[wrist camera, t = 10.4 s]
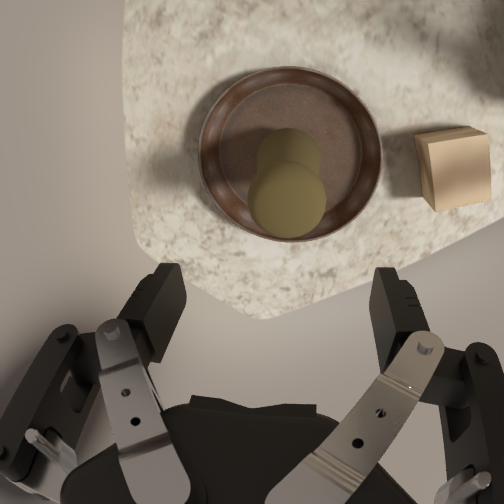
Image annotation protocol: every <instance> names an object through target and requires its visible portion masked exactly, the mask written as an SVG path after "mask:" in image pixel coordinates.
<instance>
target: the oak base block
mask: <svg viewBox="0 0 504 504" xmlns="http://www.w3.org/2000/svg"><path fill="white" fill-rule="evenodd" d="M414 139H415V144H416V150H417V156H418V163H419V170H420V177H421V185H422V194H423V198H424V199H425V200H426V201H427V203H428V204H429V205H430V206H431V207H432V209H433V210H434V211H435V212H440V211H445V210H449V209H454V208H458V207H463V206H467V205H471V204H476V203H480V202H485V201H489V200H491V168H490V152H489V141H488V134H486V133H484V132H482V131H479V130H477V129H475V128H472V127H470V126H468V127H461V128H454V129H448V130H441V131H435V132H429V133H424V134H418V135H414Z"/></svg>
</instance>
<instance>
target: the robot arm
mask: <svg viewBox="0 0 504 504" xmlns="http://www.w3.org/2000/svg"><path fill="white" fill-rule="evenodd" d="M186 297H187V296H186V290H185V285H184V282H183V277H182V273H181V268H180V265H179V264H178V263H160V264H159V266H158V267H157V269H156V270H155V272H154V274H149V275H147V276H146V277H145V278H144V279H142V280H141V281H140V283H139V284H138V286H137V287H136V289H135V291H134V292H133V294H132V295H131V297H130V298H129V299H128V301H127V302H126V304H125V306H124V307H123V309H122V310H121V312H120V314H119V315H118V317H117V318H116V319H110V320H107V321H105V322H104V323H102V324H101V325H100V326H99V327H98V328H97V330H96V332H92V333H84V334H80V333H79V332H78V330H77V328H76V327H75V326H74V325H71V324H65V325H62V326H59V327H57V328H56V329H55V330H54V331H53V332H52V333H51V334H50V335H49V337H48V339H47V340H46V342H45V343H44V345H43V346H42V348H41V350H40V351H39V353H38V354H37V356H36V358H35V359H34V361H33V363H32V364H31V366H30V367H29V369H28V371H27V373H26V374H25V376H24V378H23V379H22V381H21V383H20V385H19V386H18V388H17V390H16V392H15V393H14V395H13V397H12V399H11V401H10V403H9V405H8V406H7V408H6V410H5V412H4V414H3V416H2V418H1V420H0V474H2V475H3V476H5V477H6V478H7V479H8V480H9V481H11V482H12V483H14V484H15V485H17V486H18V487H20V488H22V489H23V490H25V491H27V492H29V493H32V494H33V495H35V496H37V497H38V498H40V499H42V500H53V501H55V502H57V503H59V504H417V503H416V502H415V501H414V500H413V499H412V498H411V497H410V495H409V494H408V493H407V492H406V491H405V490H404V489H403V488H402V487H401V486H400V485H399V484H398V483H397V482H396V481H395V480H394V479H393V478H392V477H391V476H390V475H389V474H388V472H386V470H385V469H383V467H382V466H381V465H380V464H379V463H378V461H379V460H380V458H381V457H382V456H383V454H384V453H385V452H386V450H387V449H388V447H389V446H390V444H391V443H392V441H393V440H394V439H395V437H396V436H397V434H398V432H399V431H400V430H401V428H402V427H403V425H404V423H405V422H406V420H407V419H408V417H409V415H410V414H411V412H412V410H413V409H414V407H415V406H416V404H417V402H418V401H420V402H424V403H429V404H435V405H438V406H439V412H440V418H441V425H442V433H443V441H444V450H445V460H446V471H447V482H446V483H445V484H444V485H442V486H441V487H440V488H439V490H438V491H437V493H436V496H435V500H434V504H504V373H503V370H502V367H501V364H500V361H499V359H498V356H497V354H496V352H495V351H494V349H493V348H491V347H490V346H489V345H487V344H485V343H480V342H476V343H472V344H470V345H469V346H468V347H467V349H466V350H465V351H460V350H455V349H451V348H447V347H445V346H444V344H443V342H442V340H441V339H440V338H439V337H438V336H437V335H435V334H434V333H431V332H430V329H429V326H428V323H427V321H426V318H425V315H424V312H423V310H422V307H421V306H420V305H421V304H420V302H419V300H418V298H417V294H416V292H415V289H414V287H412V285H411V284H410V283H409V282H408V281H407V280H399V278H398V275H397V272H396V270H395V268H392V267H377V268H376V269H375V273H374V278H373V284H372V290H371V295H370V301H369V310H370V316H371V321H372V326H373V331H374V337H375V343H376V348H377V354H378V360H379V366H380V374H379V375H378V376H377V378H376V379H375V380H374V382H373V383H372V384H371V386H370V387H369V388H368V390H367V391H366V392H365V393H364V395H363V396H362V397H361V399H360V400H359V401H358V402H357V403H356V405H355V406H354V407H353V409H351V411H350V412H349V413H348V414H347V415H346V417H345V418H344V419H343V420H342V421H341V423H339V422H338V421H336V420H334V419H332V418H330V417H328V416H325V415H321V414H318V413H316V404H280V405H274V406H267V407H260V408H247V407H244V406H241V405H238V404H235V403H232V402H229V401H226V400H223V399H220V398H211V397H202V396H195V395H192V396H191V399H190V402H189V403H188V404H181V405H177V406H174V407H171V408H168V409H166V410H165V408H164V406H163V403H162V401H161V399H160V396H159V394H158V392H157V389H156V387H155V384H154V382H153V379H152V377H151V374H150V372H149V370H148V366H149V363H150V362H155V363H161V360H162V358H163V356H164V353H165V351H166V349H167V346H168V344H169V342H170V340H171V337H172V335H173V333H174V330H175V328H176V326H177V323H178V321H179V319H180V317H181V314H182V312H183V310H184V308H185V305H186ZM67 372H68V373H69V375H70V377H69V379H68V381H67V383H66V385H65V387H64V389H63V391H62V393H61V392H60V387H61V384H62V382H63V380H64V378H65V376H66V374H67ZM100 387H101V389H102V393H103V397H104V401H105V405H106V408H107V412H108V416H109V420H110V423H111V427H112V430H113V434H114V437H115V440H116V443H114V444H113V445H111V446H110V447H108V448H107V449H105V450H103V451H102V452H100V453H99V454H97V455H96V456H94V457H92V458H91V459H89V460H87V461H86V462H84V463H83V464H81V465H79V466H77V465H76V462H77V459H76V454H75V452H74V450H75V447H76V444H77V442H78V439H79V437H80V434H81V432H82V429H83V427H84V424H85V422H86V420H87V417H88V415H89V412H90V410H91V408H92V405H93V403H94V400H95V398H96V396H97V394H98V392H99V389H100Z"/></svg>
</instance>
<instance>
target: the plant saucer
mask: <svg viewBox="0 0 504 504" xmlns="http://www.w3.org/2000/svg"><path fill="white" fill-rule="evenodd" d="M282 128H295V129H298V130H301V131H303V132H306V133H307V134H308V135H310V136H311V137H312V138H313V139H314V140H315V142H316V143H317V145H318V146H319V149H320V153H321V157H322V158H321V167H320V173H319V178H320V180H321V182H322V183H323V185H324V189H325V194H326V199H327V200H326V207H325V212H324V214H323V216H322V218H321V220H320V222H319V224H318V225H317V226H315V227H314V228H313V229H312V230H311V231H310V232H308V233H306V234H304V235H302V236H299V237H293V238H280V237H276V236H273V235H270V234H268V233H266V232H265V231H263V230H262V229H261V228H259V227H258V226H257V224H256V223H255V222H254V220H253V219H252V218H251V215H250V211H249V208H248V205H247V193H248V190H249V187H250V185H251V182H252V180H253V178H254V177H255V176H256V174H257V164H256V157H257V150H258V147H259V145H260V143H261V141H262V140H263V139H264V138H265V137H266V135H268V134H270V133H271V132H273V131H275V130H278V129H282ZM382 161H383V152H382V143H381V137H380V134H379V130H378V127H377V125H376V122H375V120H374V118H373V116H372V114H371V113H370V111H369V109H368V108H367V106H366V105H365V104H364V102H363V101H362V100H361V99H360V98H359V97H358V95H357V94H356V93H354V92H353V91H352V90H351V89H350V88H349V87H347V86H346V85H345V84H343V83H342V82H340V81H339V80H337V79H335V78H333V77H331V76H330V75H327V74H325V73H322V72H320V71H317V70H314V69H309V68H304V67H296V66H282V67H273V68H268V69H264V70H260V71H257V72H254V73H252V74H250V75H247V76H246V77H244V78H242V79H240V80H238V81H237V82H235V83H234V84H233V85H231V86H230V87H229V88H228V89H226V90H225V91H224V92H223V93H222V94H221V96H220V97H219V98H218V99H217V100H216V101H215V103H214V104H213V105H212V107H211V109H210V110H209V112H208V114H207V116H206V118H205V120H204V123H203V125H202V129H201V132H200V137H199V142H198V162H199V169H200V173H201V177H202V180H203V183H204V185H205V188H206V190H207V192H208V194H209V196H210V197H211V199H212V201H213V202H214V203H215V205H216V206H217V207H218V209H219V210H220V211H221V212H222V213H223V214H224V215H225V216H226V217H227V218H228V219H229V220H231V221H232V222H233V223H235V224H236V225H237V226H239V227H240V228H242V229H244V230H246V231H247V232H249V233H252V234H254V235H256V236H259V237H262V238H265V239H269V240H273V241H279V242H306V241H312V240H316V239H320V238H323V237H326V236H329V235H331V234H333V233H335V232H337V231H339V230H341V229H342V228H344V227H345V226H347V225H348V224H350V223H351V222H352V221H353V220H354V219H355V218H357V217H358V216H359V214H360V213H361V212H362V211H363V210H364V209H365V207H366V206H367V205H368V203H369V202H370V200H371V198H372V196H373V195H374V193H375V190H376V188H377V186H378V183H379V179H380V175H381V171H382Z"/></svg>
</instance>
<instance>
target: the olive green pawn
mask: <svg viewBox="0 0 504 504" xmlns="http://www.w3.org/2000/svg"><path fill="white" fill-rule="evenodd" d="M321 158H322V157H321V153H320V149H319V146H318V145H317V143H316V142H315V140H314V139H313V138H312V137H311V136H310V135H308V134H307V133H306V132H303V131H301V130H298V129H295V128H282V129H278V130H275V131H273V132H271V133H270V134H268V135H266V137H265V138H264V139H263V140H262V141H261V143H260V145H259V147H258V150H257V157H256V164H257V174H256V176H255V177H254V178H253V180H252V182H251V185H250V187H249V190H248V193H247V205H248V208H249V211H250V215H251V218H252V219H253V220H254V222H255V223H256V224H257V226H258V227H259V228H261V229H262V230H263V231H265V232H266V233H268V234H270V235H273V236H276V237H280V238H293V237H299V236H302V235H304V234H306V233H308V232H310V231H311V230H312V229H313V228H314V227H315V226H317V225H318V224H319V222H320V220H321V218H322V216H323V214H324V212H325V207H326V200H327V199H326V194H325V189H324V185H323V183H322V182H321V180H320V178H319V173H320V167H321Z"/></svg>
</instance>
